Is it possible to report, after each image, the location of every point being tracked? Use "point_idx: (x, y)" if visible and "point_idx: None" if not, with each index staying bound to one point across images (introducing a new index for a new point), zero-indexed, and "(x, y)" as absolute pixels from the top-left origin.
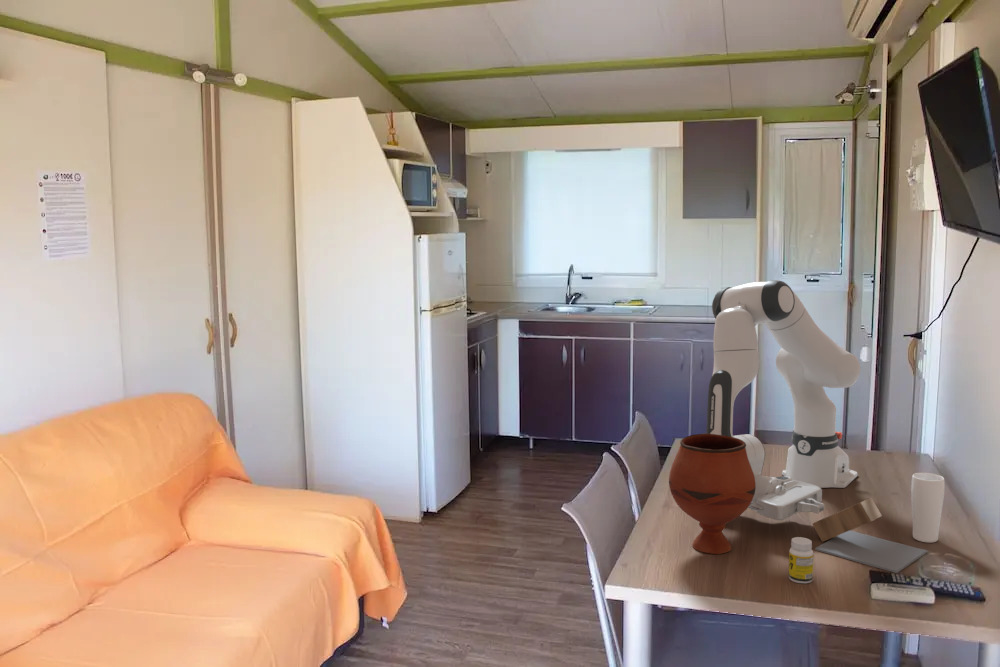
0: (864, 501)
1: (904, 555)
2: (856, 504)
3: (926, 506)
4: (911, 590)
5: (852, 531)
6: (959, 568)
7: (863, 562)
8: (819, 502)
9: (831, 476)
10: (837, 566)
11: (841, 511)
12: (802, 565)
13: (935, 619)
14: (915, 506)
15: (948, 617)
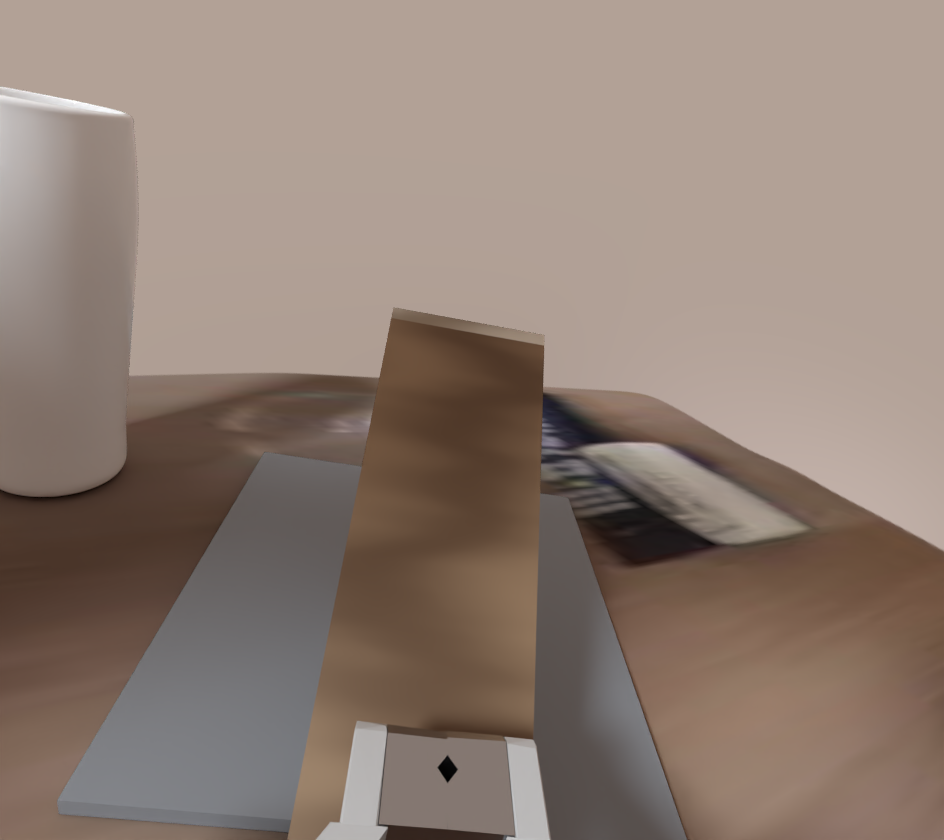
0: (510, 332)
1: None
2: (542, 376)
3: (134, 280)
4: (644, 473)
5: (91, 758)
6: (362, 410)
7: (596, 587)
8: (354, 781)
9: None
10: (739, 665)
11: (538, 514)
12: None
13: (730, 440)
14: (99, 309)
15: (693, 427)
